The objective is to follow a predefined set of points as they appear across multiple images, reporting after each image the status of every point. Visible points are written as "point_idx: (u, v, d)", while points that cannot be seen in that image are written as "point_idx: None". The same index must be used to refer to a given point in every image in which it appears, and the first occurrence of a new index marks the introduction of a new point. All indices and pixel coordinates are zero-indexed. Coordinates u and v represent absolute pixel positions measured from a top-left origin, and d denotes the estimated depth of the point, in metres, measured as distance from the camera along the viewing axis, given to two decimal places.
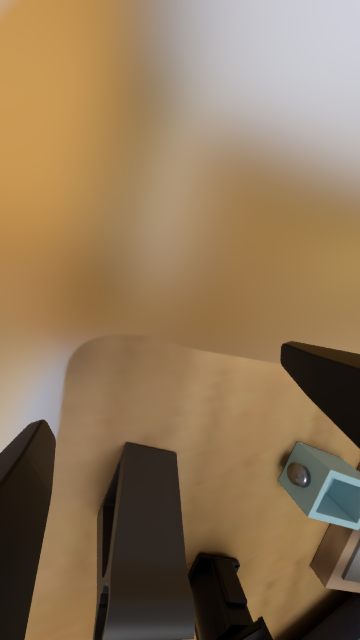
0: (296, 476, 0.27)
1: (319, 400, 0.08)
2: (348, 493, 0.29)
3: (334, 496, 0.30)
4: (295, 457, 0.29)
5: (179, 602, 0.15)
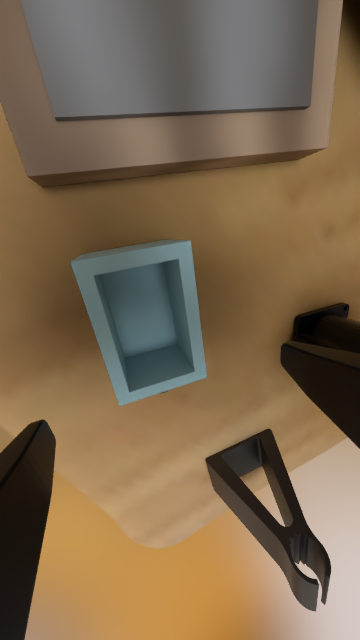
0: None
1: (319, 400, 0.08)
2: None
3: None
4: None
5: (296, 577, 0.17)
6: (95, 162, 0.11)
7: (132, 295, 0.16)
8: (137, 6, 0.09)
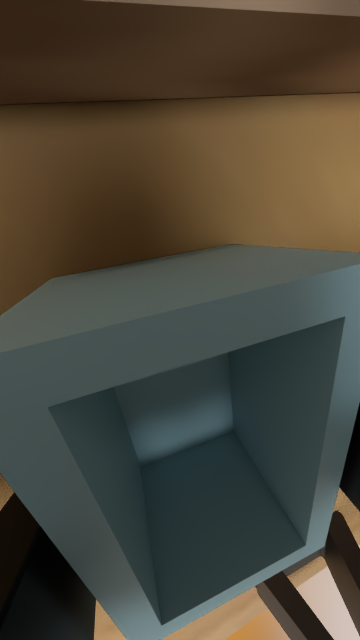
0: None
1: None
2: None
3: None
4: None
5: None
6: None
7: None
8: None
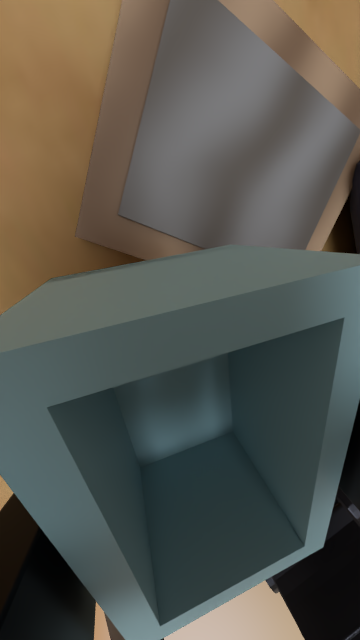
0: None
1: None
2: None
3: None
4: None
5: None
6: (131, 250, 0.14)
7: None
8: (206, 184, 0.13)
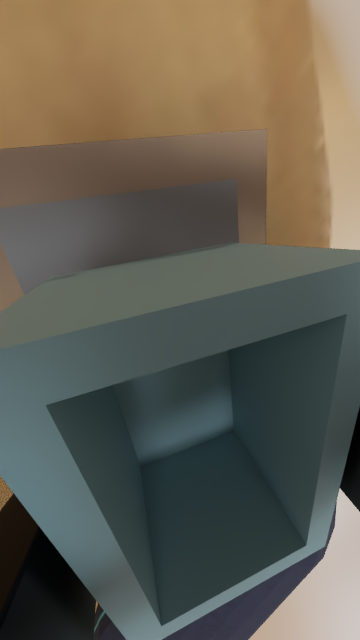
0: None
1: None
2: None
3: None
4: None
5: None
6: None
7: None
8: None
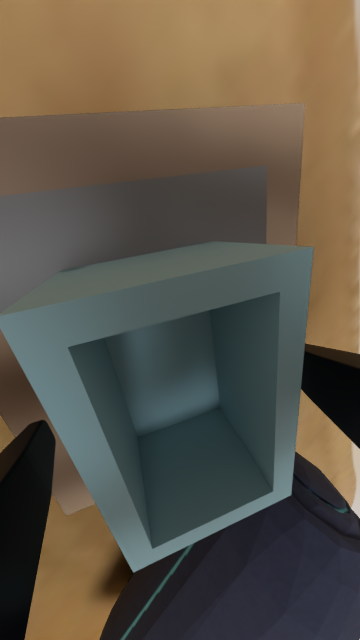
0: None
1: (319, 400, 0.08)
2: None
3: None
4: None
5: None
6: None
7: (152, 340, 0.09)
8: None
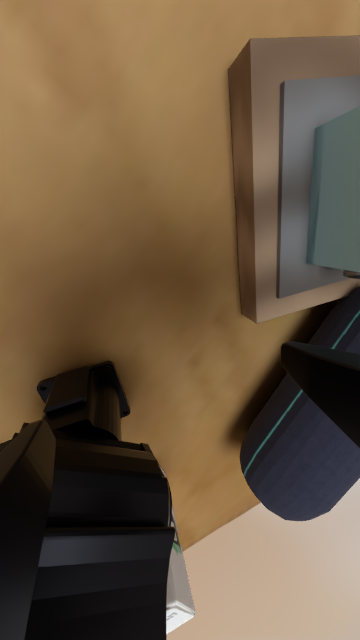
0: None
1: (319, 400, 0.08)
2: None
3: None
4: None
5: None
6: (256, 113, 0.14)
7: None
8: None
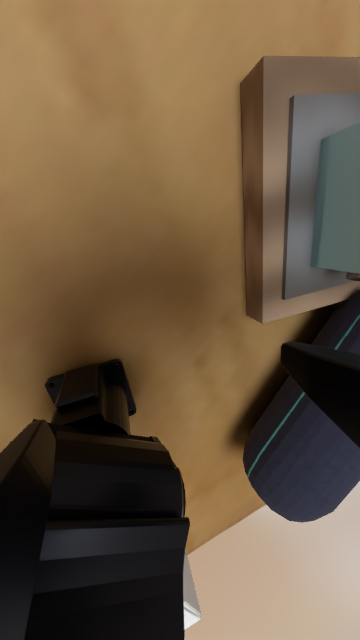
0: None
1: (319, 400, 0.08)
2: None
3: None
4: None
5: None
6: (267, 124, 0.14)
7: None
8: None
